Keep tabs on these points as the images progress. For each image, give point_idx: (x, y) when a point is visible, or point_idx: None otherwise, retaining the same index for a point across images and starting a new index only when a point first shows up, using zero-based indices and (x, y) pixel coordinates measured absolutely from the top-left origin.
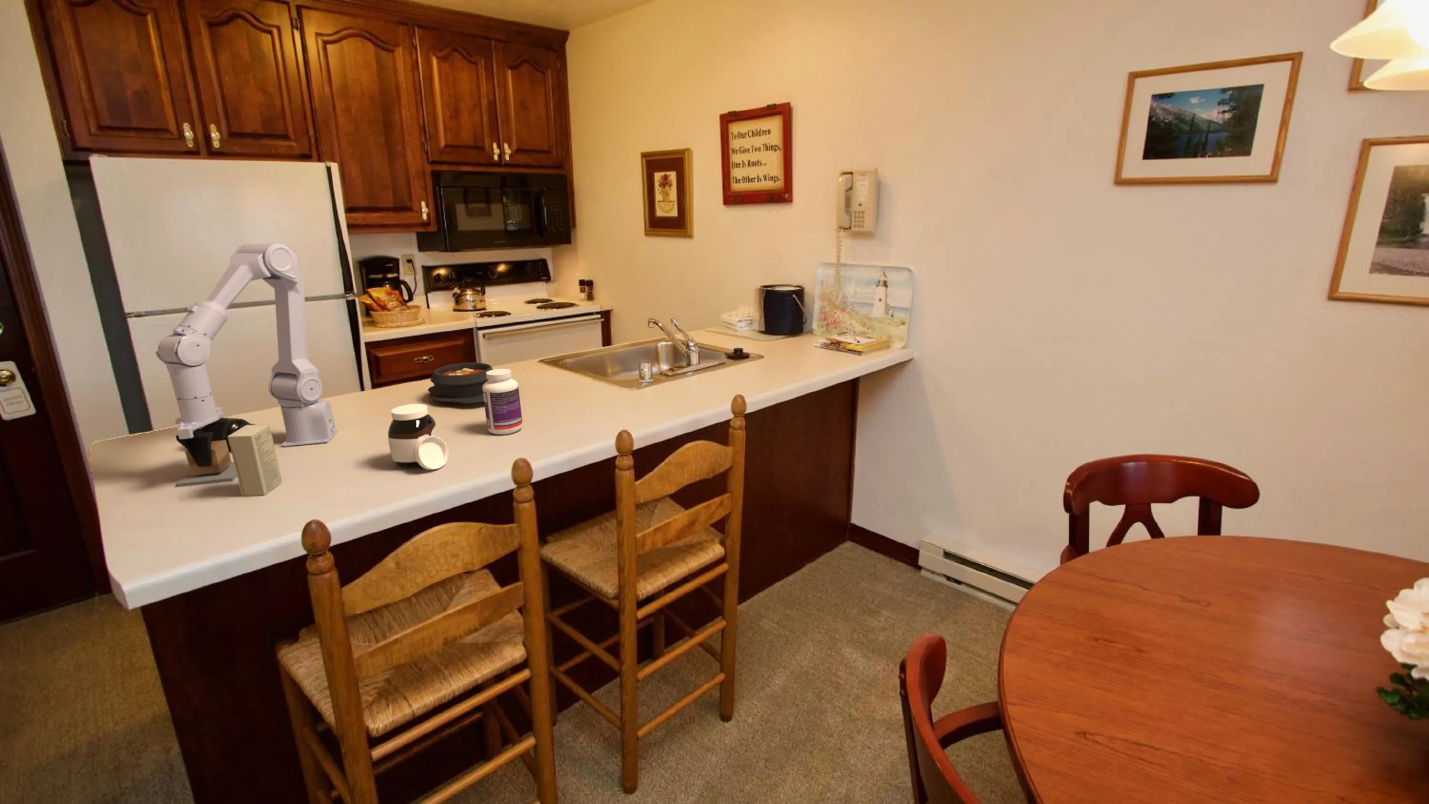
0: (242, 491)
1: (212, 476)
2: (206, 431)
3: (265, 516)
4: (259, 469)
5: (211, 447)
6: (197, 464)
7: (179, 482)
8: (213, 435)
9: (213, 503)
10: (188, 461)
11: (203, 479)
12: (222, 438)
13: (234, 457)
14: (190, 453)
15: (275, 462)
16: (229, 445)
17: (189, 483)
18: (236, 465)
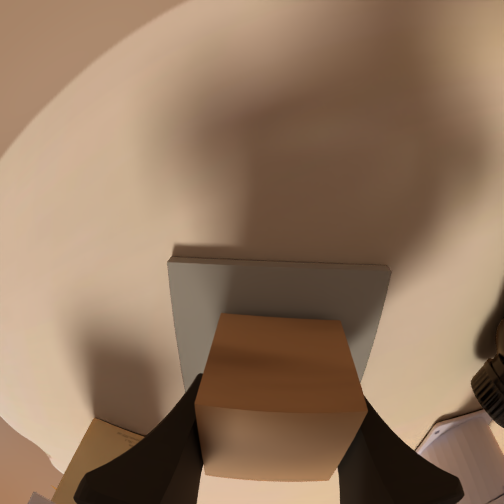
0: (89, 427)
1: None
2: (363, 496)
3: (40, 428)
4: None
5: (233, 469)
6: (194, 381)
7: (181, 272)
8: (352, 483)
9: (59, 377)
10: (207, 360)
11: (193, 346)
12: (340, 480)
13: (56, 492)
14: (160, 423)
15: None
16: (500, 332)
17: (174, 306)
18: (64, 476)
